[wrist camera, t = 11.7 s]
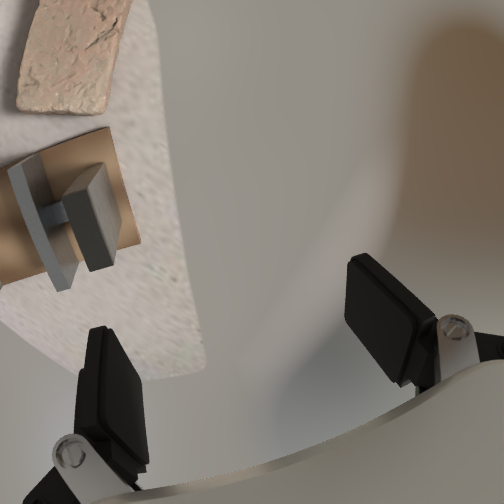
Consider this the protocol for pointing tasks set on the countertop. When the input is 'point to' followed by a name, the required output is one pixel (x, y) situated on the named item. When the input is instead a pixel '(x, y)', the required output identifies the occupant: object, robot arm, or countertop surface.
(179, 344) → the countertop surface
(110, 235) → the free jaw
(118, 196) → the vise base
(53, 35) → the brick
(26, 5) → the countertop surface
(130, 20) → the countertop surface
